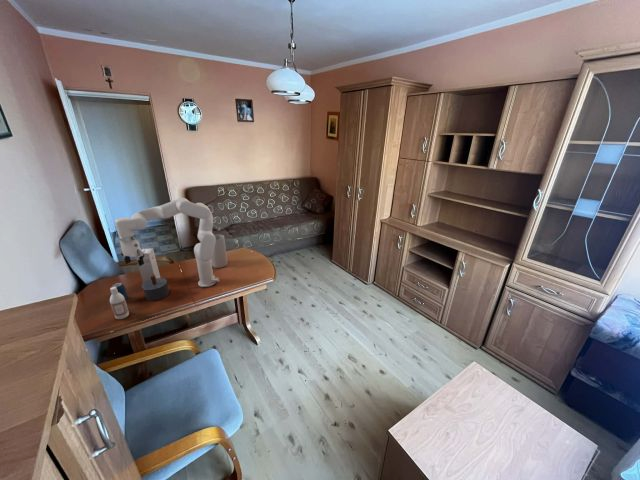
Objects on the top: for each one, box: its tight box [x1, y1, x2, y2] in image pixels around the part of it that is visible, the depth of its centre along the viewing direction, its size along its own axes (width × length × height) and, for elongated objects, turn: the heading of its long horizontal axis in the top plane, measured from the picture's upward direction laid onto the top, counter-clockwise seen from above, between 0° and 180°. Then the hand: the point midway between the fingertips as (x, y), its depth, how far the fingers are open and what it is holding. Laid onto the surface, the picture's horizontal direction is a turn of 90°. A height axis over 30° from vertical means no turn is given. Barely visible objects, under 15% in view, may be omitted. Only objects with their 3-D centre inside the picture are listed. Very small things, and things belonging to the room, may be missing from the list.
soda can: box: [110, 281, 129, 302], centre depth 172 cm, size 7×7×12 cm
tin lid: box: [141, 275, 168, 291], centre depth 176 cm, size 15×15×7 cm
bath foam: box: [109, 287, 130, 320], centre depth 156 cm, size 7×7×20 cm
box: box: [135, 247, 161, 285], centre depth 190 cm, size 8×8×25 cm
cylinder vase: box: [211, 233, 229, 269], centre depth 216 cm, size 12×12×25 cm
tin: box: [142, 283, 170, 302], centre depth 178 cm, size 14×14×8 cm
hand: (135, 263), depth 162 cm, fingers open, 9 cm apart
